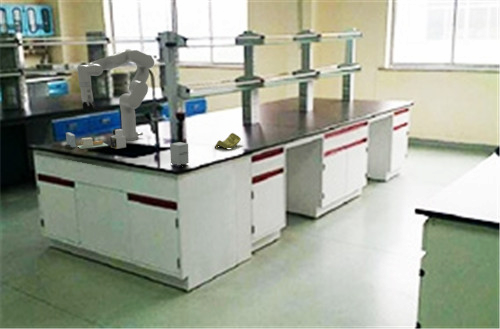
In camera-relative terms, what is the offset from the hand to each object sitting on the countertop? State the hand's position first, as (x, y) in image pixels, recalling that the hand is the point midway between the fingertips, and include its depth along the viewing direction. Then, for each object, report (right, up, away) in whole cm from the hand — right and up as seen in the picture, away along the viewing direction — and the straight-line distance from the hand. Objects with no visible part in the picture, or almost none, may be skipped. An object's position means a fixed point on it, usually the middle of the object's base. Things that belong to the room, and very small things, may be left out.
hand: (88, 110), depth 355 cm
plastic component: (+93, -24, -1) cm, 96 cm away
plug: (+3, -23, 0) cm, 23 cm away
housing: (-12, -23, +1) cm, 26 cm away
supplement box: (+67, -36, -50) cm, 91 cm away
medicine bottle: (+21, -25, -3) cm, 32 cm away
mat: (+3, -23, 0) cm, 24 cm away
